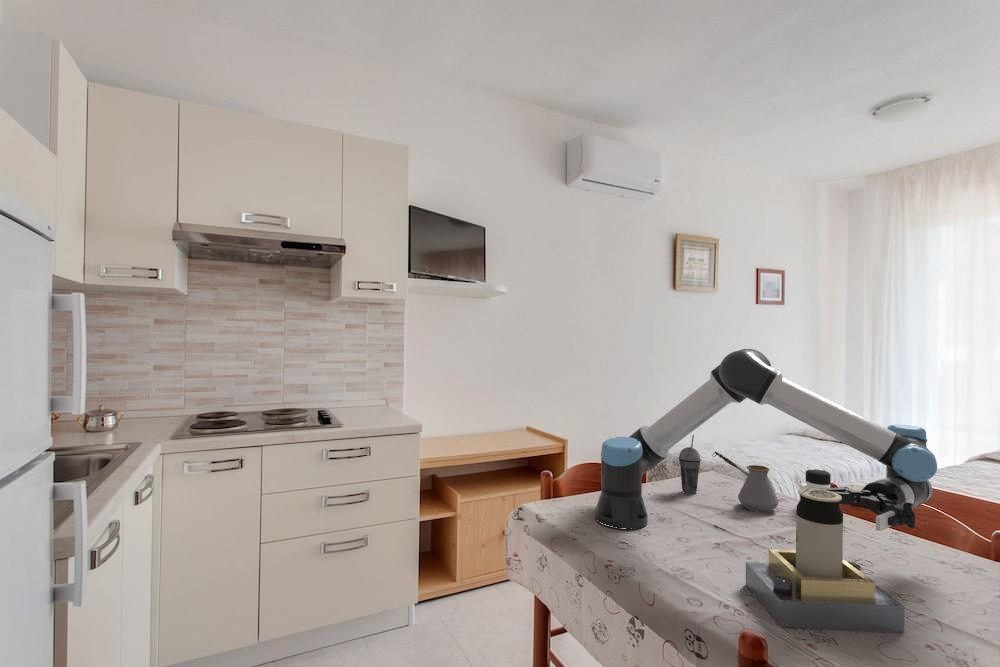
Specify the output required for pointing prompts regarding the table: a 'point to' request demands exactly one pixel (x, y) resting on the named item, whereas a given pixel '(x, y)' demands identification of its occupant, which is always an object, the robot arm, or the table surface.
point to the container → (817, 479)
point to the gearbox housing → (822, 597)
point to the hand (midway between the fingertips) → (840, 512)
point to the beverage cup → (689, 468)
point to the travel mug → (819, 534)
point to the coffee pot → (755, 488)
